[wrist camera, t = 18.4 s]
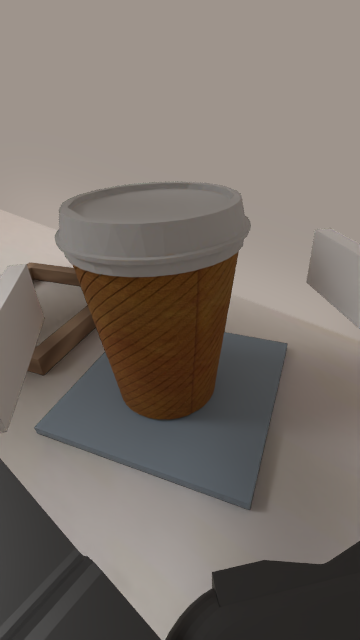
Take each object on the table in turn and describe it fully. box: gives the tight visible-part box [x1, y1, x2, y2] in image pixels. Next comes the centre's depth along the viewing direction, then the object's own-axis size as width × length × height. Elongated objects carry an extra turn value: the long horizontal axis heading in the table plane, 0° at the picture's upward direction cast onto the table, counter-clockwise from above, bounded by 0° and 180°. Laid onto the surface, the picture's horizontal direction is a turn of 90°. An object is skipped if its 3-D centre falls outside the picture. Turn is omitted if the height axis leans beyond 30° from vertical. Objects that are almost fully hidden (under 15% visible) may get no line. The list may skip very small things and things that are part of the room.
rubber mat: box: [34, 332, 287, 510], centre depth 23 cm, size 13×13×1 cm
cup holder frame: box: [27, 263, 96, 375], centre depth 32 cm, size 14×14×2 cm
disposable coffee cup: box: [55, 182, 251, 419], centre depth 19 cm, size 10×10×12 cm
